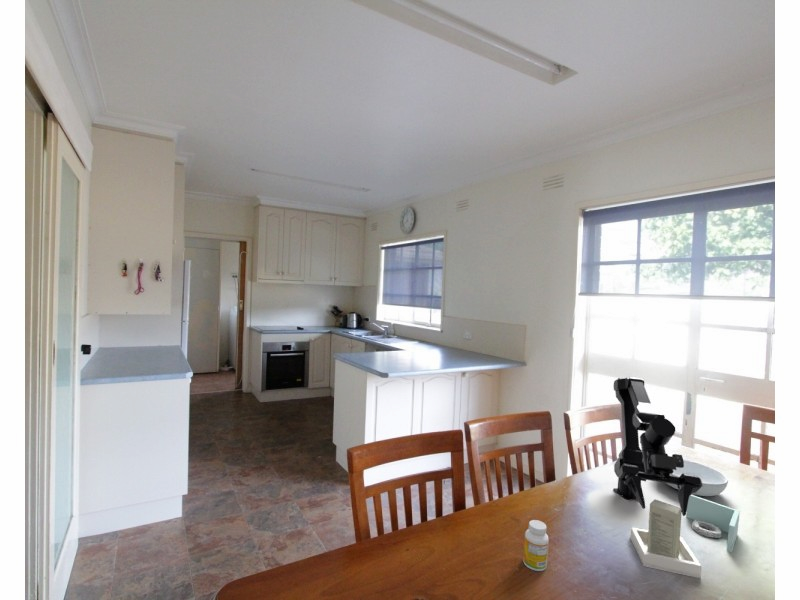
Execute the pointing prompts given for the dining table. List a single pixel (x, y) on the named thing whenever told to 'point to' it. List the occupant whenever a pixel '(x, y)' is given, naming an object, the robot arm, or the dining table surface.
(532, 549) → the supplement bottle
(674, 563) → the holder tray
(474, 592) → the dining table surface
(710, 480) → the serving bowl
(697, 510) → the right angle wall
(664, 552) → the skincare box
